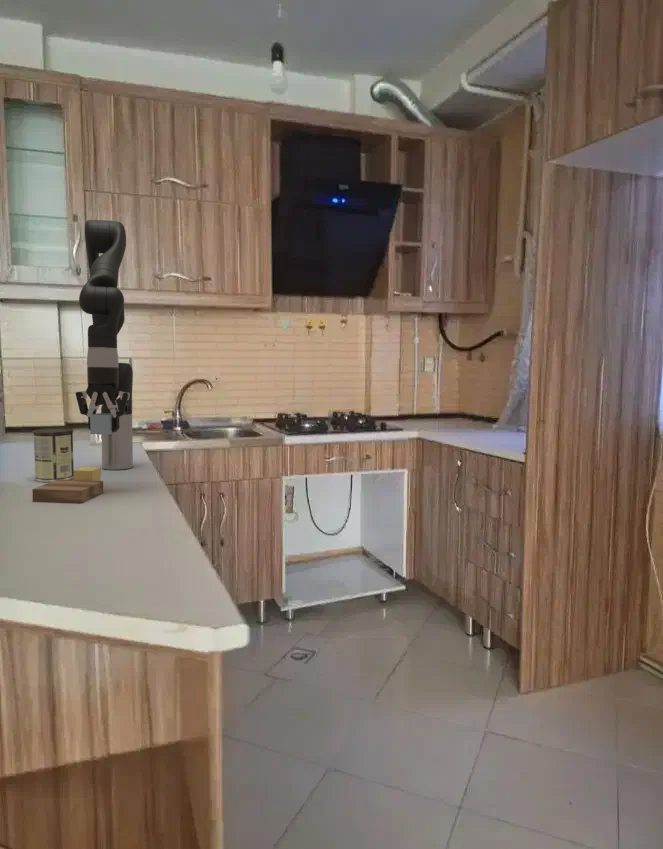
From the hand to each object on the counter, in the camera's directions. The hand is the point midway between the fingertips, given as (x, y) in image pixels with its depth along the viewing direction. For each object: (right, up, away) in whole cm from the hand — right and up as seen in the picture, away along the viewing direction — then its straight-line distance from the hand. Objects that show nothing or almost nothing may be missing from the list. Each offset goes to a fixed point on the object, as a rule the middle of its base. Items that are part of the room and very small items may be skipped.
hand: (103, 431), depth 156 cm
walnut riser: (-7, -16, -6) cm, 18 cm away
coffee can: (-20, -14, +16) cm, 29 cm away
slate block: (0, 0, 0) cm, 0 cm away
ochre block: (-7, -15, +6) cm, 18 cm away
